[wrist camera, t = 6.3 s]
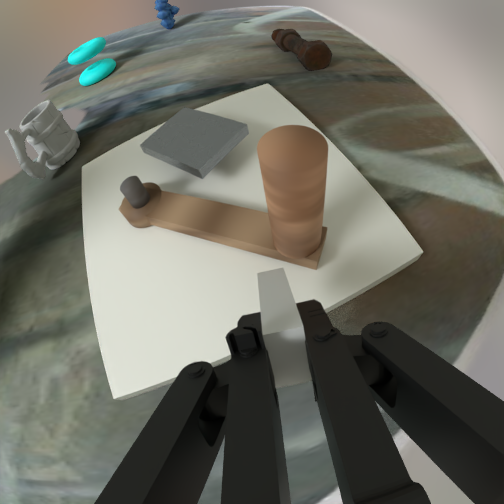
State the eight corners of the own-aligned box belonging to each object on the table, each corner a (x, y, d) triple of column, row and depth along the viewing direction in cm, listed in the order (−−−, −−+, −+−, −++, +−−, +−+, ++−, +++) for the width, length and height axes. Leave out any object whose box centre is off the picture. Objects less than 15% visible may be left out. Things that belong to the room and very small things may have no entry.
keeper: (156, 175, 32) (139, 145, 28) (196, 138, 34) (184, 106, 30) (213, 204, 29) (198, 170, 24) (254, 159, 31) (247, 124, 27)
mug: (88, 133, 41) (56, 80, 30) (59, 187, 35) (13, 132, 25) (59, 143, 42) (27, 96, 32) (30, 194, 37) (-13, 146, 26)
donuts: (87, 48, 43) (58, 62, 45) (104, 82, 52) (75, 92, 54) (110, 30, 47) (81, 43, 49) (124, 62, 56) (95, 71, 58)
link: (120, 223, 27) (62, 150, 18) (141, 188, 29) (94, 113, 20) (313, 278, 22) (322, 185, 13) (328, 230, 24) (338, 127, 14)
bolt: (283, 50, 48) (322, 76, 41) (261, 43, 46) (297, 68, 38) (294, 26, 44) (337, 47, 37) (272, 19, 42) (312, 37, 34)
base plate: (123, 399, 21) (113, 399, 20) (87, 173, 35) (82, 166, 34) (417, 259, 23) (423, 251, 22) (269, 91, 37) (267, 83, 36)
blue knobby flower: (182, 29, 61) (171, -6, 51) (159, 36, 62) (147, 2, 51) (186, 20, 67) (176, -11, 56) (165, 26, 67) (155, -4, 57)
